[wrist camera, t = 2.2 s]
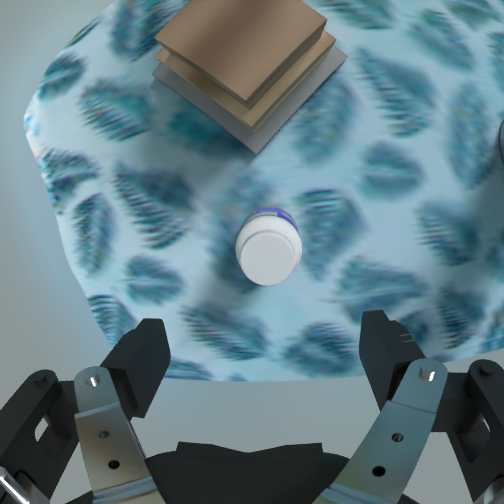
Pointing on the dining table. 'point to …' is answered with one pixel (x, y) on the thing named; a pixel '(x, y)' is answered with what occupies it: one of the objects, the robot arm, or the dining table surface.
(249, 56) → the brown block
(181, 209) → the dining table surface
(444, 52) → the dining table surface
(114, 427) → the robot arm
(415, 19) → the dining table surface
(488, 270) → the dining table surface
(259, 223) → the pill bottle
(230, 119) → the base plate
